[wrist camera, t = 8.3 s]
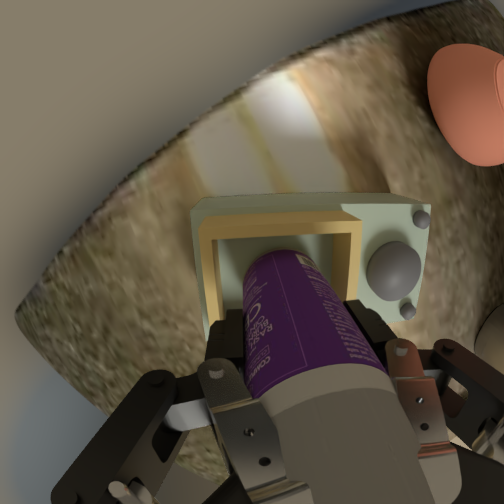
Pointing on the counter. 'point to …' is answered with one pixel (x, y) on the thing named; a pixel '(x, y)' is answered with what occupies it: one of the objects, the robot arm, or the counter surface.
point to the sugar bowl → (469, 101)
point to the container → (325, 388)
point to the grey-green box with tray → (314, 246)
